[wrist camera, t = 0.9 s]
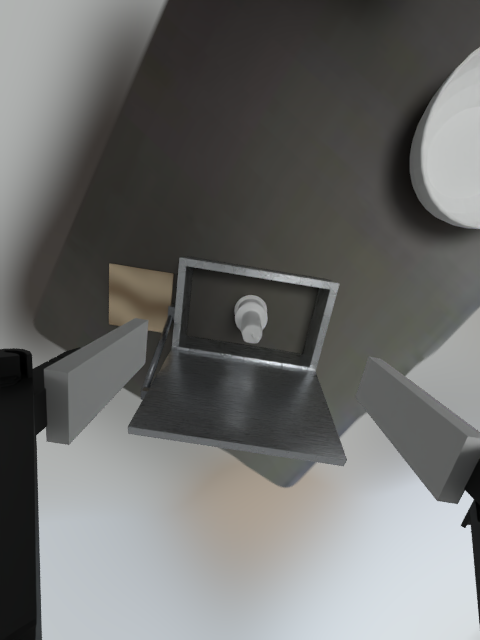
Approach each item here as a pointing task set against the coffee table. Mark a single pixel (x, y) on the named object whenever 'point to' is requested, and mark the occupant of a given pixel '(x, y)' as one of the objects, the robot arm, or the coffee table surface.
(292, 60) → the coffee table surface
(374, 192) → the coffee table surface
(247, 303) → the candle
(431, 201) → the bowl
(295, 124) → the coffee table surface
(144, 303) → the mat
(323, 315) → the case
